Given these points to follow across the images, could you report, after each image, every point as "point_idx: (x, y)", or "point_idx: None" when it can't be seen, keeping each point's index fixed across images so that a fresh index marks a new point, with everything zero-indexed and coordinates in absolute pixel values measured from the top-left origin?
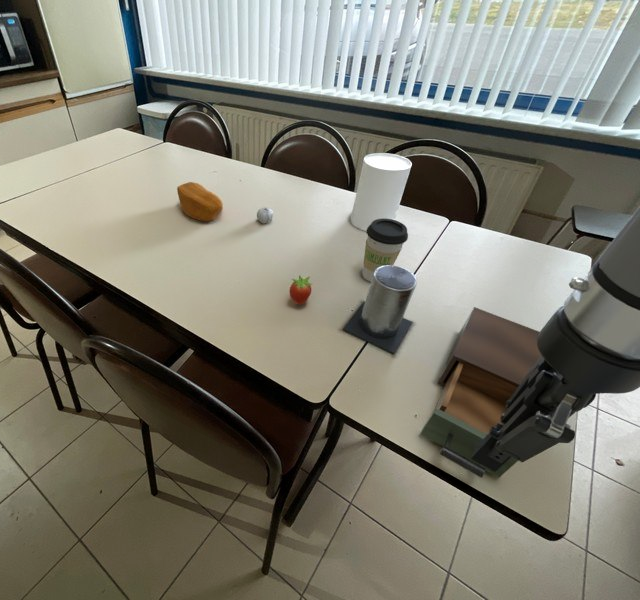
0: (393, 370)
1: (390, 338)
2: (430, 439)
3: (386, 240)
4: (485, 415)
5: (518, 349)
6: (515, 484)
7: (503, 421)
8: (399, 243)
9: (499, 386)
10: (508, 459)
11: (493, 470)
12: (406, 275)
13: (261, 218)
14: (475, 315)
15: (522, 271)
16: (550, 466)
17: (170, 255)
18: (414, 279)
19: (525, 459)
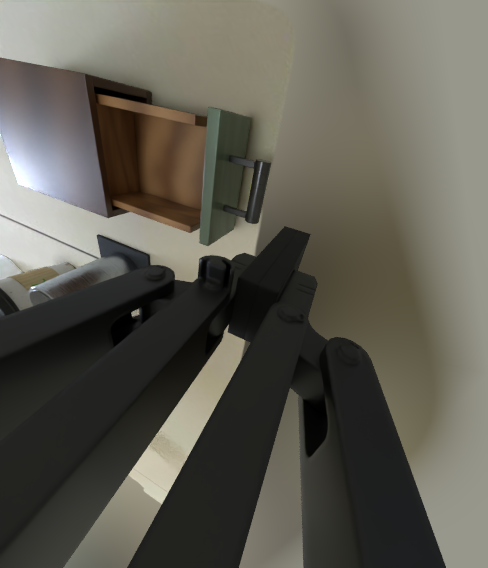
0: (168, 255)
1: (132, 259)
2: (235, 216)
3: (12, 309)
4: (167, 144)
5: (33, 114)
6: (248, 86)
7: (221, 339)
8: (4, 292)
9: (113, 135)
10: (297, 256)
11: (308, 239)
12: (36, 299)
13: None
14: (29, 183)
15: None
16: (194, 22)
17: (167, 428)
18: (34, 291)
19: (379, 391)
